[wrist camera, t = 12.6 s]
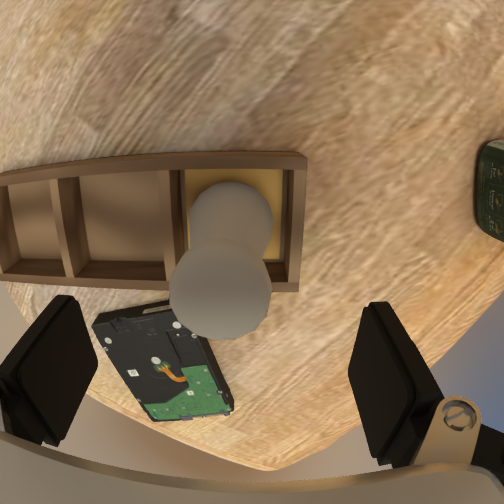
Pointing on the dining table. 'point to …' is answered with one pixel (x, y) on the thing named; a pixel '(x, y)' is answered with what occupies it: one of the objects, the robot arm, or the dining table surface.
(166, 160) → the wooden compartment tray
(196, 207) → the salt shaker
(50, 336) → the robot arm
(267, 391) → the dining table surface
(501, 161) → the coffee jar
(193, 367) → the disk drive
